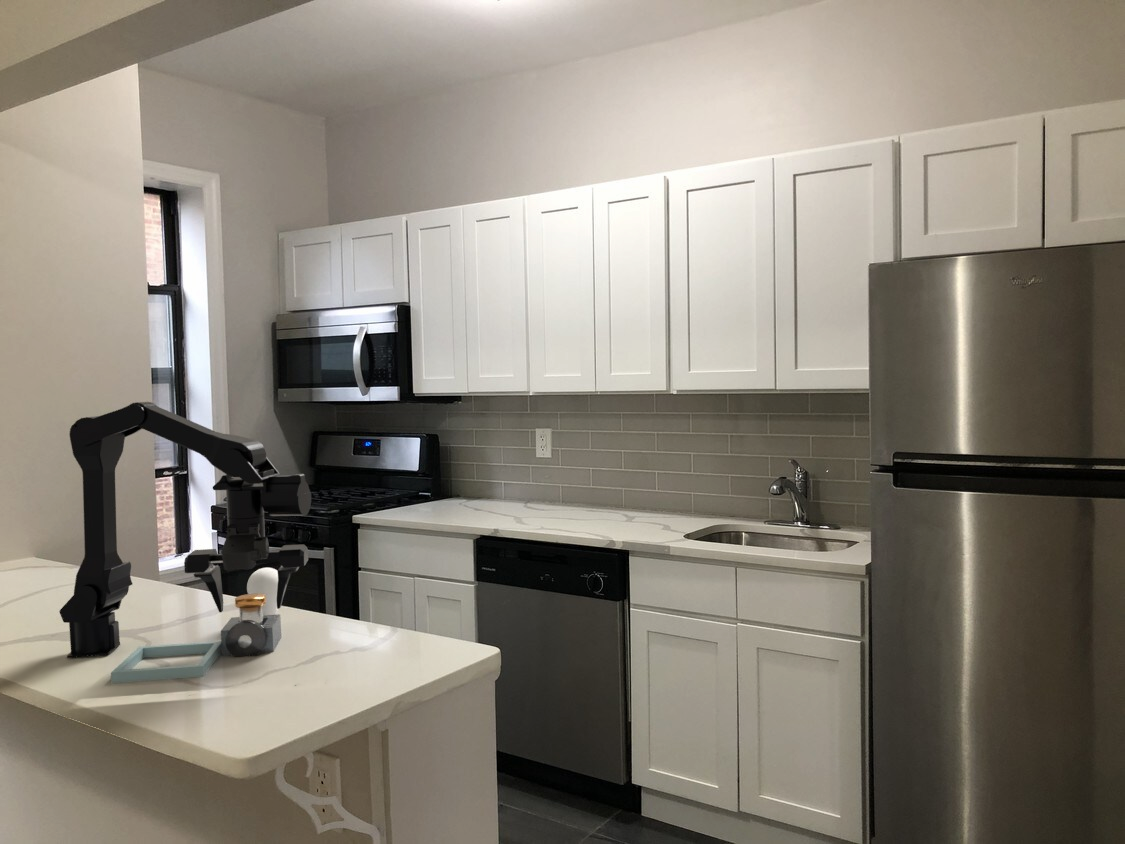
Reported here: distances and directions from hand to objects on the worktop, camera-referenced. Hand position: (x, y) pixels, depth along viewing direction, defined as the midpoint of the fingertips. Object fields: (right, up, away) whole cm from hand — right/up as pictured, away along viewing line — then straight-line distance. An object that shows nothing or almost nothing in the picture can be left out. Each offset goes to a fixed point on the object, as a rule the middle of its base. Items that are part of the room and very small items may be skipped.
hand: (250, 609), depth 150 cm
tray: (-9, -8, -9) cm, 15 cm away
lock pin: (0, -6, 0) cm, 6 cm away
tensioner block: (0, -7, 0) cm, 7 cm away
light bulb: (-2, -7, +15) cm, 16 cm away
